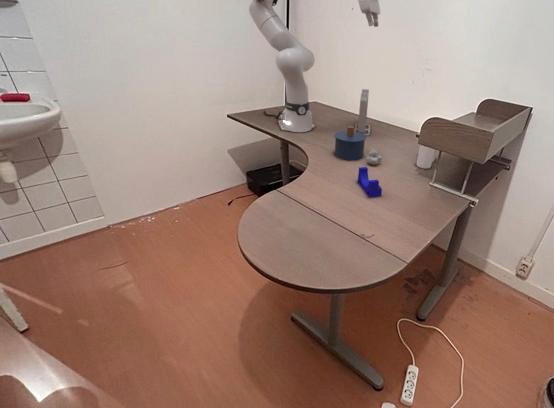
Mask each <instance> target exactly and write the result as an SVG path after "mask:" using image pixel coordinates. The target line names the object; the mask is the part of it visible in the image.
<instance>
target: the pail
mask: <svg viewBox="0 0 554 408" xmlns="http://www.w3.org/2000/svg"><path fill="white" fill-rule="evenodd" d="M365 141H366V139H365V140H364V141H361V142H344V141H340V140H338V139H336V138H335V137H334V155H335V157H337V158H338V159H339V160H344V161H358V160H361V159H363V157H364V152H365V143H366V142H365Z"/></svg>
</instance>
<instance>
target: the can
mask: <svg viewBox="0 0 554 408" xmlns="http://www.w3.org/2000/svg"><path fill="white" fill-rule="evenodd" d="M434 151H435V150H434V149H431V148H428V147H424V146H421V145H420V144H419V149H418V154H417V159H416V167H418V168H419V169H422V170H429V169H430V168H431V167H432V165H433V162H432V160H433V155H434Z"/></svg>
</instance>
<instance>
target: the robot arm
mask: <svg viewBox="0 0 554 408" xmlns="http://www.w3.org/2000/svg"><path fill="white" fill-rule="evenodd" d="M278 1H279V0H252V1H251V3H250V5H249V7H248V13H249V15H250V17H251V19H252V21H253V23H254V25H255V26H256V27H257V29H258V30H259V32H260V33H261V35H262V36H263V37H264V39H265V40H266V41H267V43H268V44H269V45H270V46H271V47H272V48H273V49H275V50H276V51H278V53H277V54H276V56H275V65H276V67H277V69H278V70H279V72H280V73H281V75H282V78H283V81H284V85H285V93H286V94H285V95H286V96H285V97H286V101H285V105H284V106H285V109H284V110H281V111H278V113H277V114H270V113H269V114H268V113H266V112H267V111H266V110H264V111H263V114H264V115H265V116H268V117H275V118H276V119H277V120H278V119H279V120H278V121H277V122H278V125H279V128H280V130H281V131H286V132H291V133H306V132H310V131H312V130H313V129H314V128H315V127H316V126H315V124H313V112H312V111H310V101H309V85H308V84H307V83H306V80H305V76H304V73H305V72H308V71H310V70H311V69H312V68H313V67H314V66H315V63H316V62H315V61H316V58H315V54H314V53H313V52H312V51H311V50H310V49H309V48H307V47H306V46H305V44H303V43H302V42H301V41H300V40H299V39H298V38H297V37H295V35H293V33H292V32H291V31H290V30H289V29H288V27H287V26H286V24H285V23H284V22H283V20H282V19H281V18H280V16H279V15H278V14H277V12H276V11H275V9H274V6H276V5H277V4H278ZM357 2H358V4H359V5H358V6H359V8H360V12H361V14H364V15H365V18H366V21H367V24H368V27H374V28H377V27H379V26H380V25H379V15H381V8H380V2H379V0H357Z"/></svg>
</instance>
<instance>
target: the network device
mask: <svg viewBox="0 0 554 408" xmlns="http://www.w3.org/2000/svg"><path fill="white" fill-rule="evenodd" d="M369 95H370V89H366V88H362V89H361V94H360V100H359V110H358V111H359V112H358V123H356V124H355V126H354V131H356V132H360V133H362V134H364V135H365V136H366V137H368V136H371V125H369V124H367V119H368V117H367V116H368V105H369ZM366 127H367V128H366ZM366 132H367V133H366Z"/></svg>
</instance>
